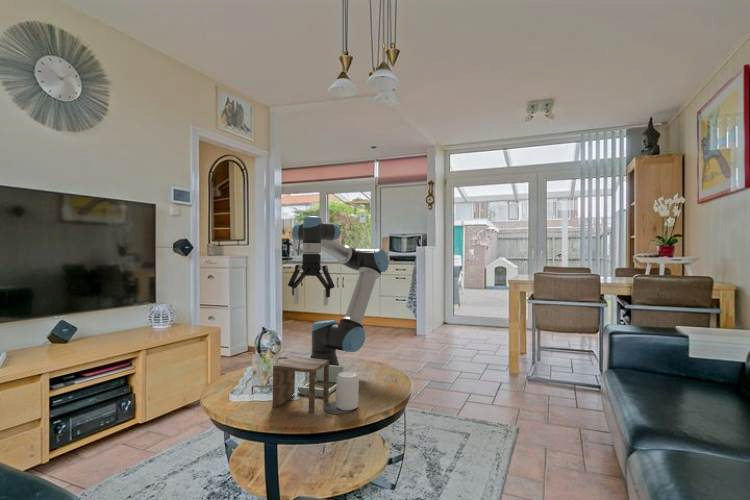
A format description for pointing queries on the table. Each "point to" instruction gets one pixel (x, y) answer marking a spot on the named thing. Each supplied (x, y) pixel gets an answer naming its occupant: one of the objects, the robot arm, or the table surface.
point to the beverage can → (347, 390)
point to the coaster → (334, 409)
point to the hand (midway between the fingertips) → (310, 304)
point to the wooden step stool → (286, 379)
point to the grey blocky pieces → (320, 377)
